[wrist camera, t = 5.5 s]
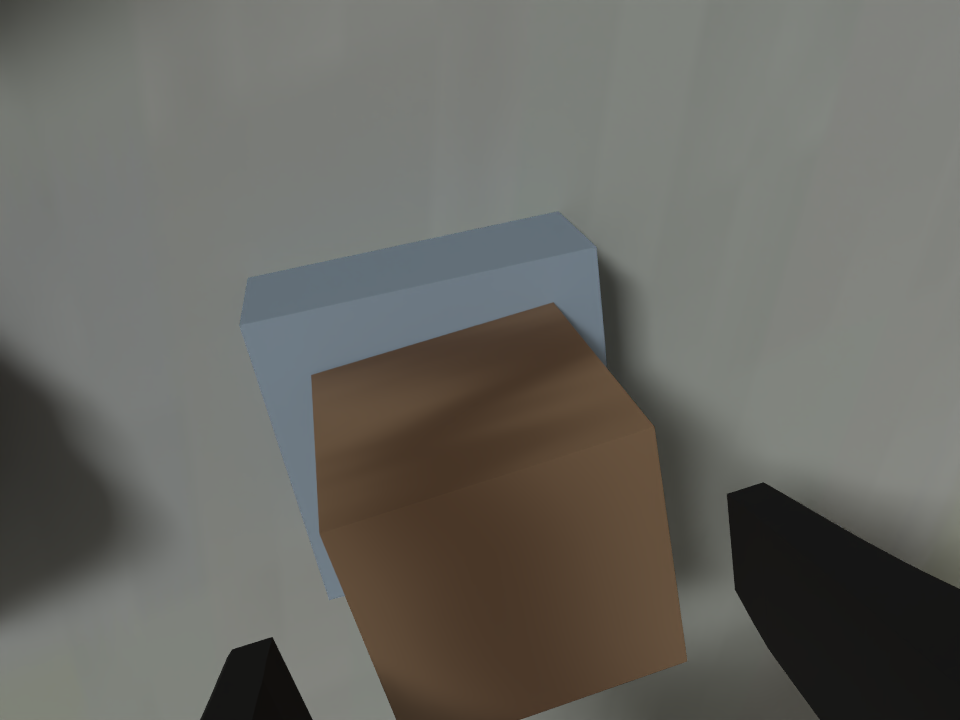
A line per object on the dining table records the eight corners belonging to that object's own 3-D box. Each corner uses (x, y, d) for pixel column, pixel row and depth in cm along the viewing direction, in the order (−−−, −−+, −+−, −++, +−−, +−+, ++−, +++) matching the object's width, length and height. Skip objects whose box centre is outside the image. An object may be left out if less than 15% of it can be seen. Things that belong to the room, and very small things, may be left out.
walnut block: (553, 302, 16) (654, 426, 11) (591, 496, 18) (687, 661, 14) (310, 374, 15) (319, 533, 11) (382, 563, 18) (411, 757, 13)
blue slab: (553, 206, 18) (596, 246, 15) (581, 456, 21) (620, 524, 19) (249, 271, 17) (239, 325, 15) (325, 519, 21) (329, 599, 18)
